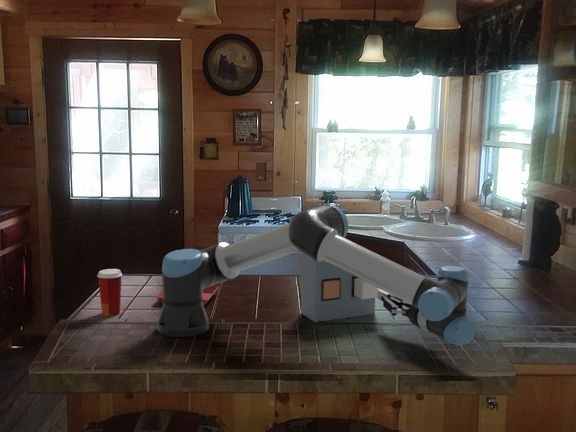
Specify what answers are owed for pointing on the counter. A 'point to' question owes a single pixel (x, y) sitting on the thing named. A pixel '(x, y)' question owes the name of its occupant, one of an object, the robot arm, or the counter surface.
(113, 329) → the counter surface
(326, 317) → the box
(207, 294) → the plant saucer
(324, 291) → the rust button
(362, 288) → the cream button
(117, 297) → the paper cup
